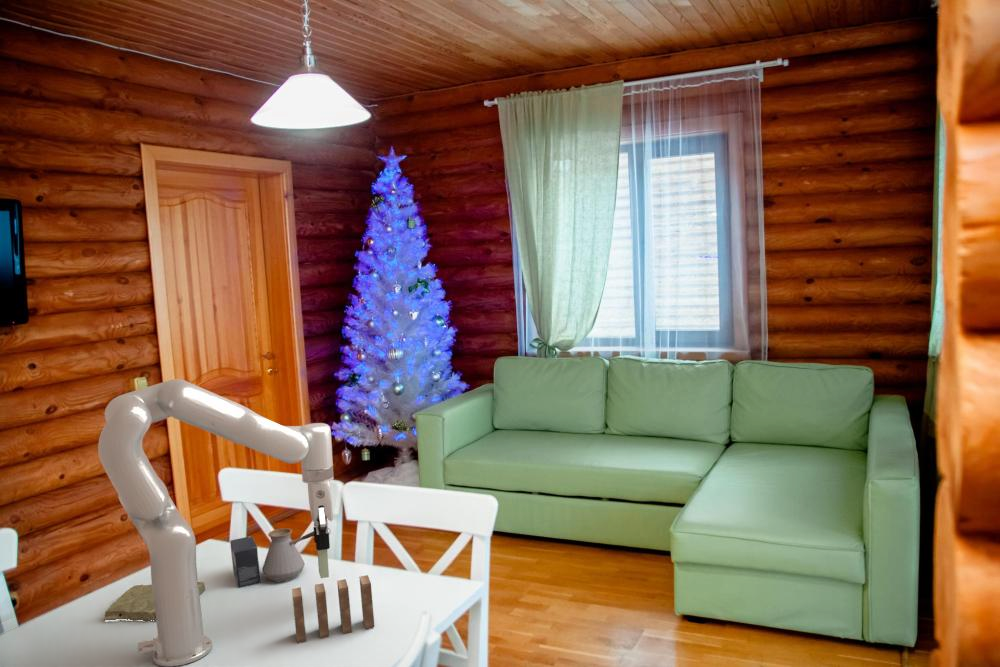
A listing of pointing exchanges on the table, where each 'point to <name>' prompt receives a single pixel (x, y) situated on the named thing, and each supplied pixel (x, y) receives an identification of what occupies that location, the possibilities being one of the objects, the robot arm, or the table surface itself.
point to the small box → (245, 561)
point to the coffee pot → (283, 556)
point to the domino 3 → (322, 610)
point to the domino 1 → (299, 615)
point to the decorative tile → (137, 604)
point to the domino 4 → (344, 606)
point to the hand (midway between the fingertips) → (322, 544)
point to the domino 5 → (366, 601)
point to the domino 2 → (323, 563)
